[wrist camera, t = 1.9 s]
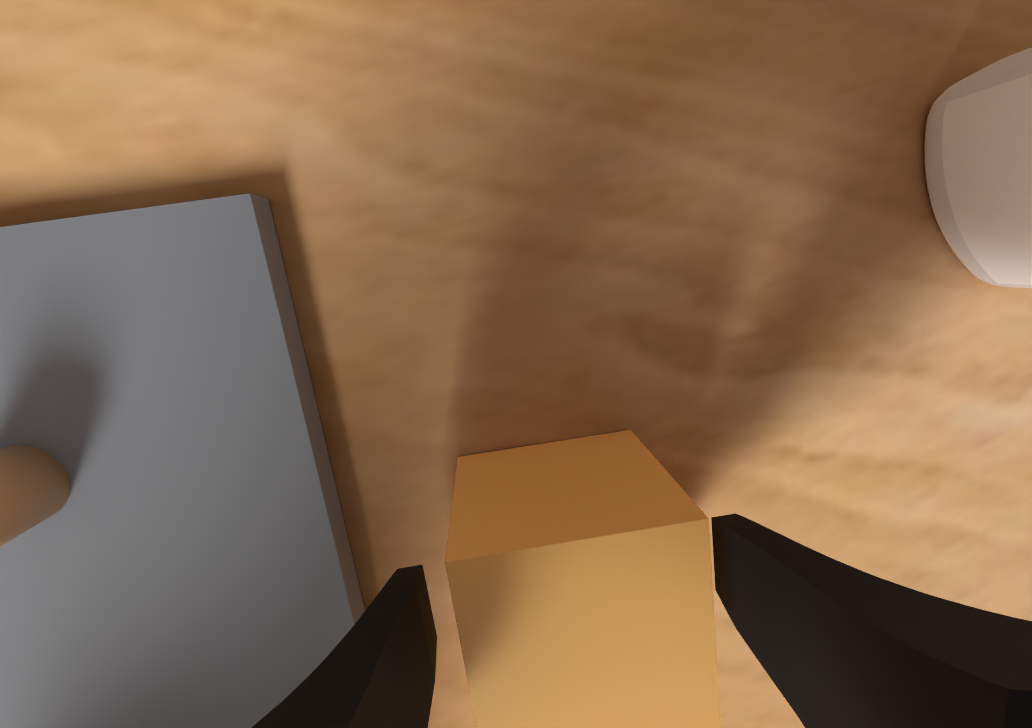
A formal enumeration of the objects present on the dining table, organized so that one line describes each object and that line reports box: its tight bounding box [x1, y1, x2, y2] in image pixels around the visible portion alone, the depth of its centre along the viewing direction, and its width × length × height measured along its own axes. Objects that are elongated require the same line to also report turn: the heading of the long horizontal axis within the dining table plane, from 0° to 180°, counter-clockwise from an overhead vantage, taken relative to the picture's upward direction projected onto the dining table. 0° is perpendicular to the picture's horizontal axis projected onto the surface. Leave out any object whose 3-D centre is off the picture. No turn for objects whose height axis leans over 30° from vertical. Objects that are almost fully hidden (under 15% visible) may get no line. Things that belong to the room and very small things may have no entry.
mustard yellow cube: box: [445, 430, 721, 728], centre depth 12 cm, size 5×5×5 cm
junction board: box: [0, 193, 365, 728], centre depth 12 cm, size 16×14×4 cm
